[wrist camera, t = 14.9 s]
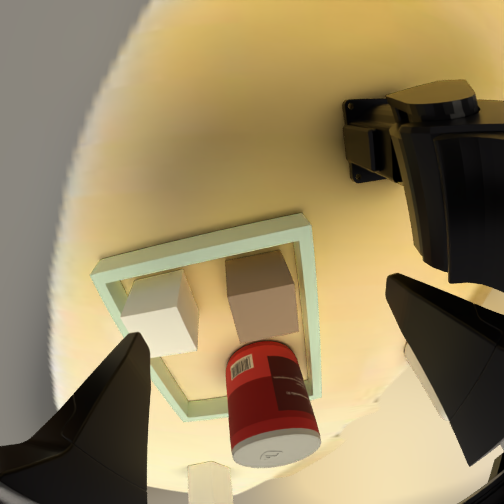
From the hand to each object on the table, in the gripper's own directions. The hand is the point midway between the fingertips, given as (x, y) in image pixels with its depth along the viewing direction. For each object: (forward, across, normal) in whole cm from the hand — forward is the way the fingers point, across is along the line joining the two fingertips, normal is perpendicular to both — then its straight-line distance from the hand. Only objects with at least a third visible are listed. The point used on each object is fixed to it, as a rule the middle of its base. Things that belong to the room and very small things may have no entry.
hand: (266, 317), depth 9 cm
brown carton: (+13, 0, +7) cm, 15 cm away
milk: (+13, +17, +49) cm, 53 cm away
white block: (+13, +8, +7) cm, 17 cm away
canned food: (+13, +2, +18) cm, 22 cm away
